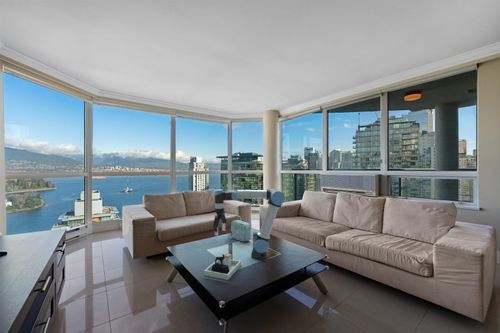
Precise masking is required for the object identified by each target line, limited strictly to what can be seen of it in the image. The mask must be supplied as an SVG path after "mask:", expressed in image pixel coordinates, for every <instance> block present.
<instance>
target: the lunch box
mask: <svg viewBox="0 0 500 333" xmlns="http://www.w3.org/2000/svg"><path fill="white" fill-rule="evenodd" d="M251 230H252V229H251V224H250V223H249V222H246V221H242V220H239V219H235V220H232V221H231V223H230V235H231V236H230V237H231V238H232V239H234V240H235V241H240V242H244V243H245V242H248V241H251V236H252V234H251V233H252V232H251Z"/></svg>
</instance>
